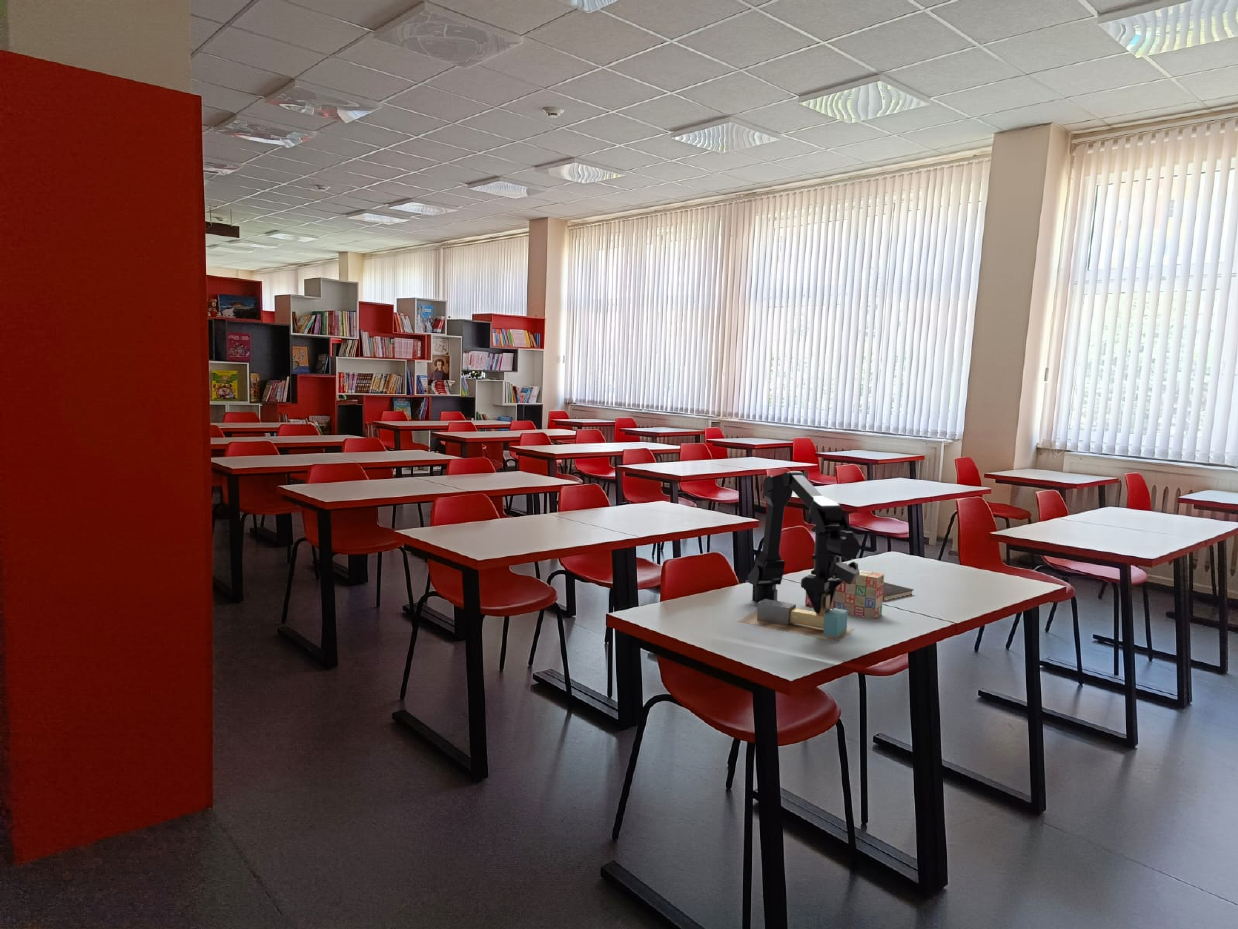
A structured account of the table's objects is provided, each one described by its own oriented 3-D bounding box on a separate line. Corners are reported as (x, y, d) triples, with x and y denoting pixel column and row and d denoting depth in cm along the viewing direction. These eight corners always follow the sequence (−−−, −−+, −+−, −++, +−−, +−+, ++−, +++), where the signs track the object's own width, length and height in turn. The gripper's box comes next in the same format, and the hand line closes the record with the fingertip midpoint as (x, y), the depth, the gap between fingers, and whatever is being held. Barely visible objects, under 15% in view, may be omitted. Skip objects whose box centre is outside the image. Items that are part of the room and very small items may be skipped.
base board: (737, 624, 206) (737, 621, 206) (757, 614, 217) (757, 610, 217) (838, 645, 191) (838, 641, 190) (854, 632, 201) (854, 629, 201)
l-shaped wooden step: (771, 618, 206) (772, 587, 205) (775, 616, 208) (777, 585, 208) (832, 630, 196) (833, 598, 196) (836, 627, 199) (837, 595, 198)
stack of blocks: (804, 605, 228) (806, 565, 227) (813, 601, 233) (814, 562, 232) (874, 619, 215) (877, 577, 213) (882, 615, 219) (884, 573, 218)
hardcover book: (854, 581, 262) (854, 575, 262) (913, 596, 244) (913, 589, 243) (823, 587, 253) (824, 580, 253) (883, 603, 234) (883, 596, 234)
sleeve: (757, 620, 207) (757, 602, 207) (764, 616, 211) (765, 598, 211) (788, 626, 202) (788, 608, 202) (795, 622, 206) (795, 604, 206)
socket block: (823, 635, 195) (824, 614, 195) (833, 628, 202) (834, 608, 201) (836, 637, 193) (837, 617, 193) (846, 630, 200) (847, 610, 199)
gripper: (844, 561, 185) (841, 623, 187) (867, 550, 201) (864, 607, 202) (801, 555, 192) (798, 615, 193) (826, 544, 207) (823, 600, 208)
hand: (823, 609), depth 199 cm, fingers open, 8 cm apart
